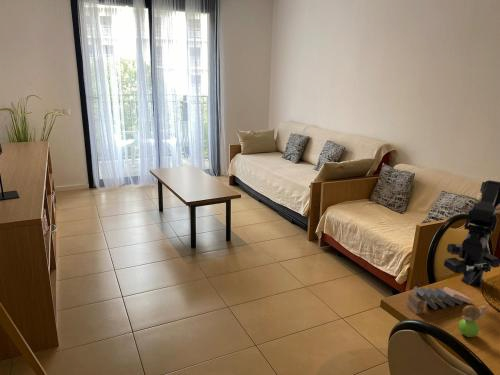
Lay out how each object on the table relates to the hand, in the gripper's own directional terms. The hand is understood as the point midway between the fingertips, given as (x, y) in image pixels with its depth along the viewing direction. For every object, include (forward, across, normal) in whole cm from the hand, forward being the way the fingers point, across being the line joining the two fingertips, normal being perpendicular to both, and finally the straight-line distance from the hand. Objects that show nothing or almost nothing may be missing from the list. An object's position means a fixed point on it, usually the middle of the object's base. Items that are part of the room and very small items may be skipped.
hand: (467, 284), depth 132 cm
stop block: (+6, +21, 0) cm, 22 cm away
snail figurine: (+7, +14, +15) cm, 22 cm away
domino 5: (+6, -1, 0) cm, 6 cm away
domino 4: (+6, +3, 0) cm, 7 cm away
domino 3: (+6, +6, 0) cm, 9 cm away
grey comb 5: (+6, +14, 0) cm, 15 cm away
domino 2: (+6, +10, 0) cm, 12 cm away
